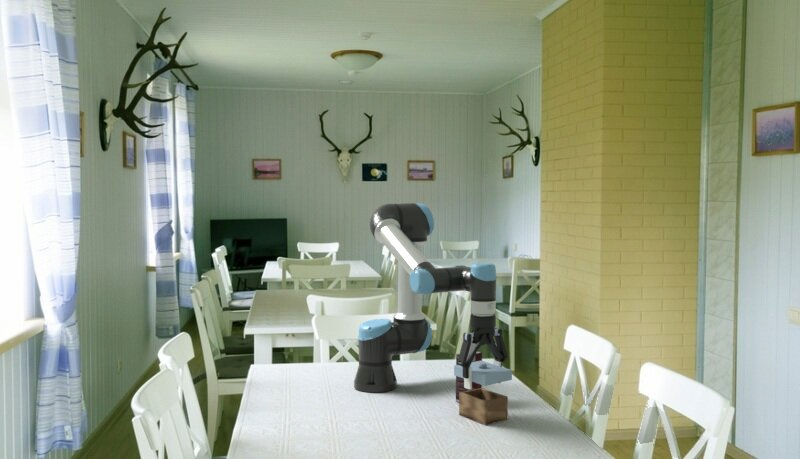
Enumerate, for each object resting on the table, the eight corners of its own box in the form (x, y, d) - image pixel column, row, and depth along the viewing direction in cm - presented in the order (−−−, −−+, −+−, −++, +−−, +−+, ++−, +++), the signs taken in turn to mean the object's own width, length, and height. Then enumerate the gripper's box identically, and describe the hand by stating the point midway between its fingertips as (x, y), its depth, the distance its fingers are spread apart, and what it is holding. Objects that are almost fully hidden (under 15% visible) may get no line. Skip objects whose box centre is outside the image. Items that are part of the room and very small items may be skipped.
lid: (454, 378, 222) (454, 362, 221) (480, 372, 228) (481, 357, 228) (484, 389, 210) (484, 372, 210) (511, 383, 216) (512, 366, 216)
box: (459, 415, 222) (459, 392, 221) (481, 409, 227) (481, 387, 226) (485, 425, 212) (485, 401, 212) (507, 419, 217) (507, 396, 217)
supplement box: (466, 404, 232) (466, 356, 231) (455, 401, 236) (455, 354, 235) (482, 399, 239) (482, 351, 238) (471, 396, 242) (471, 349, 241)
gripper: (461, 320, 208) (460, 394, 209) (519, 311, 221) (519, 381, 223) (445, 316, 214) (444, 388, 215) (503, 308, 227) (502, 376, 229)
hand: (482, 385), depth 219 cm, fingers closed on lid, 11 cm apart
